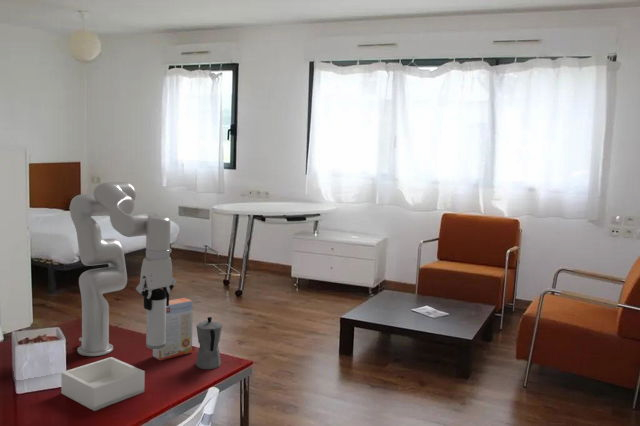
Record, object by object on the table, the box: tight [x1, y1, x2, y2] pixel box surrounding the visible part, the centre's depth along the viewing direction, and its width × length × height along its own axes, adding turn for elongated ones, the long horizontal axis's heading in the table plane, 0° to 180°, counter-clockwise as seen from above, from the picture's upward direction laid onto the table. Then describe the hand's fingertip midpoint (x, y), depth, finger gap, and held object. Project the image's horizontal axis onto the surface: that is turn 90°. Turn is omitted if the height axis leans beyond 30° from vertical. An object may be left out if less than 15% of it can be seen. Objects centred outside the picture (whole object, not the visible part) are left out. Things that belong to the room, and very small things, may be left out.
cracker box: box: [152, 297, 194, 361], centre depth 219 cm, size 14×6×21 cm, turn 133°
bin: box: [60, 356, 146, 412], centre depth 185 cm, size 18×18×7 cm
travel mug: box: [145, 288, 166, 350], centre depth 192 cm, size 6×7×20 cm
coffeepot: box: [195, 316, 223, 370], centre depth 210 cm, size 15×9×18 cm, turn 20°
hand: (156, 306), depth 192 cm, fingers closed on travel mug, 6 cm apart
